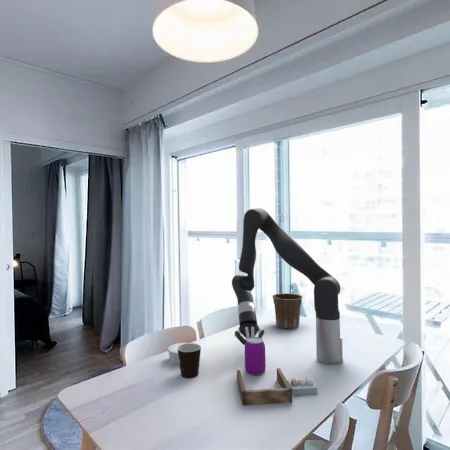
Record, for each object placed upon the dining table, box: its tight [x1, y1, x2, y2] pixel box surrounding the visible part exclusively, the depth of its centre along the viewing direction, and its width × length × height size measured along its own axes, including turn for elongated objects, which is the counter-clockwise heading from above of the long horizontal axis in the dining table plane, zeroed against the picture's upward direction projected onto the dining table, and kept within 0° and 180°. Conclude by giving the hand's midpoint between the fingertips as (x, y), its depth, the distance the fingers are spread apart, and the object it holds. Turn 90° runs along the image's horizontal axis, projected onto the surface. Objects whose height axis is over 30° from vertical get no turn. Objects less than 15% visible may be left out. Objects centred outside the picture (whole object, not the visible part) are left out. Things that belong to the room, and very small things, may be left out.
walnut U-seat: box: [236, 367, 293, 406], centre depth 107 cm, size 15×15×4 cm
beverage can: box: [244, 336, 267, 377], centre depth 121 cm, size 8×8×12 cm
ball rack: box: [286, 377, 318, 396], centre depth 107 cm, size 8×6×4 cm
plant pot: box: [271, 292, 303, 330], centre depth 176 cm, size 16×16×16 cm
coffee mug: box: [178, 342, 202, 380], centre depth 121 cm, size 12×9×10 cm
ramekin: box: [167, 342, 188, 366], centre depth 133 cm, size 11×11×5 cm
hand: (252, 353), depth 128 cm, fingers closed
